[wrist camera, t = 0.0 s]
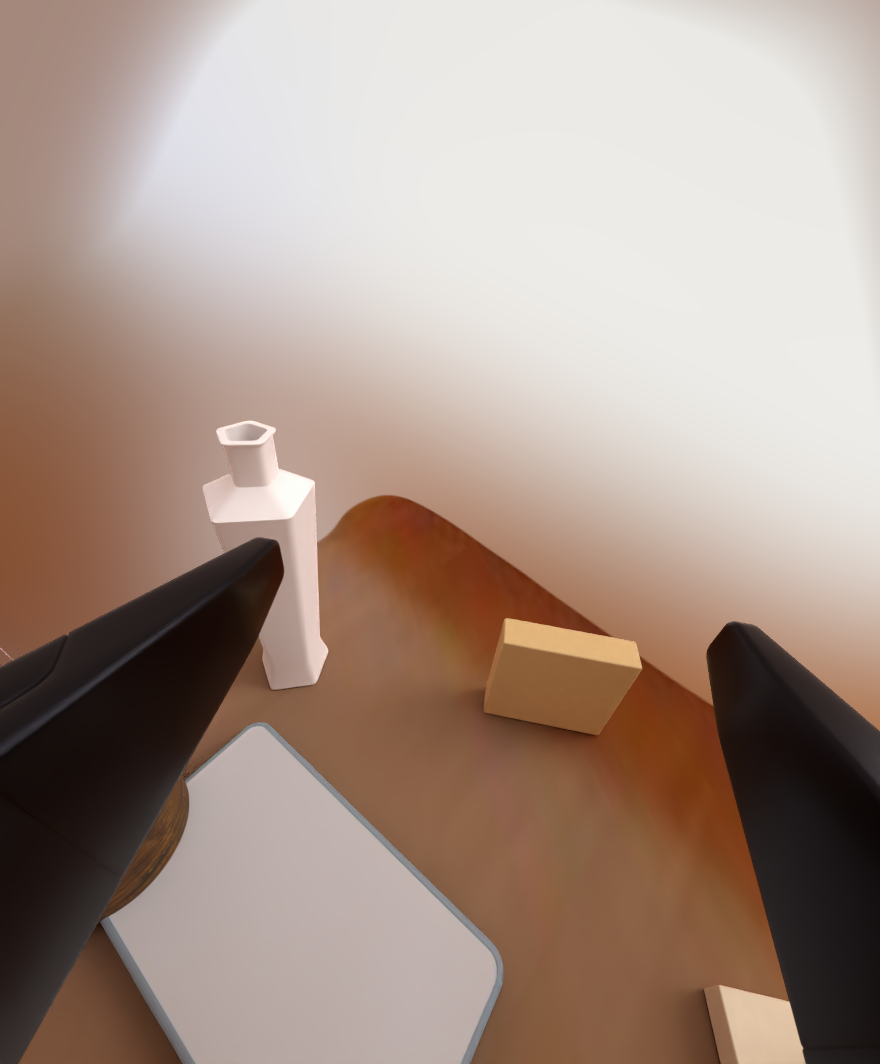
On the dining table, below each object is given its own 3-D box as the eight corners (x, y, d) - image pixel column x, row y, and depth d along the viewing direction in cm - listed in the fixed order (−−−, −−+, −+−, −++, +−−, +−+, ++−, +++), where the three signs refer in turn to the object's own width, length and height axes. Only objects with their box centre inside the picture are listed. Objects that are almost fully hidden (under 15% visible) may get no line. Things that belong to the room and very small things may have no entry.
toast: (594, 709, 25) (636, 641, 21) (598, 736, 23) (643, 669, 19) (485, 687, 25) (505, 617, 21) (483, 712, 24) (503, 642, 20)
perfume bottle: (272, 626, 27) (215, 403, 18) (338, 636, 27) (316, 415, 18) (238, 690, 24) (146, 452, 14) (315, 701, 24) (271, 468, 14)
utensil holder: (151, 745, 21) (13, 559, 14) (228, 823, 18) (104, 641, 11) (3, 865, 17) (-292, 688, 10) (73, 989, 14) (-267, 865, 7)
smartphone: (348, 1359, 10) (70, 875, 16) (350, 1341, 11) (81, 881, 17) (514, 960, 16) (259, 712, 22) (508, 963, 16) (262, 722, 22)
